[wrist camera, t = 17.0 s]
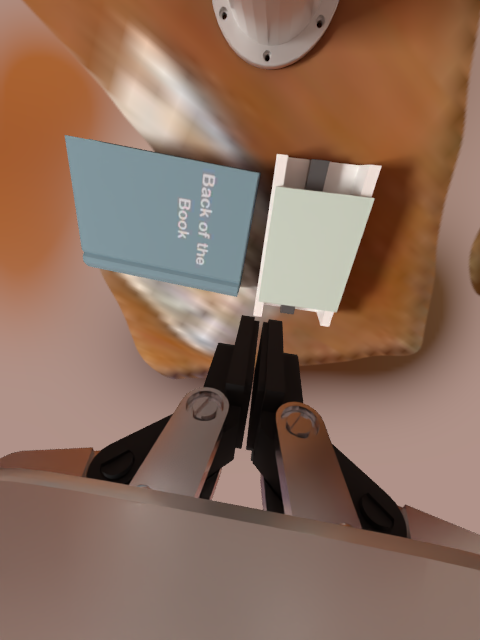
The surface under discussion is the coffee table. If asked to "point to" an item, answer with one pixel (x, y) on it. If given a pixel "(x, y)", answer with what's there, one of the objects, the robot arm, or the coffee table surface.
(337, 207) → the cover
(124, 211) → the book
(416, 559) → the robot arm
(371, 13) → the coffee table surface
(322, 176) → the white channel
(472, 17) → the coffee table surface
